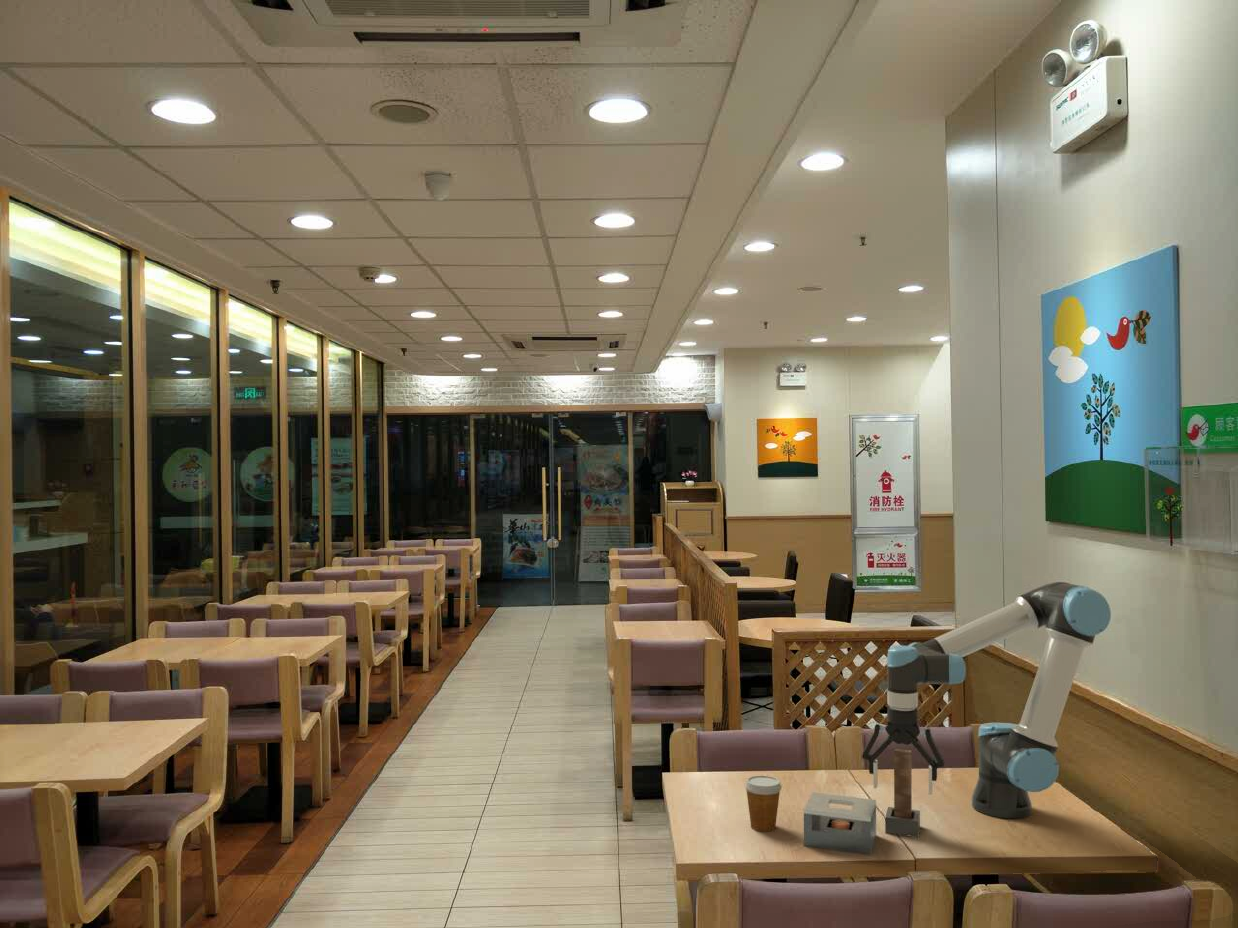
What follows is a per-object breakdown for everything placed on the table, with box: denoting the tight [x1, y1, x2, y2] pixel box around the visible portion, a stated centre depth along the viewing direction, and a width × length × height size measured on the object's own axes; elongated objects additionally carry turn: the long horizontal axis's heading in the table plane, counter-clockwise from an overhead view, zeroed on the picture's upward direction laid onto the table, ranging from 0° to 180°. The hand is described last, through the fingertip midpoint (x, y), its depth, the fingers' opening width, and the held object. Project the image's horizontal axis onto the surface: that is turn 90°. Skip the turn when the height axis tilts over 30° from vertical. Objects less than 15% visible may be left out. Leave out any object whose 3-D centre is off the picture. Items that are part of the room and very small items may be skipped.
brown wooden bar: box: [893, 748, 913, 819], centre depth 244 cm, size 4×4×20 cm
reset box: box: [803, 791, 877, 856], centre depth 237 cm, size 16×13×9 cm
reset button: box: [831, 820, 850, 830], centre depth 237 cm, size 4×4×4 cm
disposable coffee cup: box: [744, 775, 782, 832], centre depth 246 cm, size 10×10×12 cm
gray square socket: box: [884, 806, 921, 838], centre depth 244 cm, size 8×8×4 cm
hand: (902, 789), depth 244 cm, fingers open, 13 cm apart
